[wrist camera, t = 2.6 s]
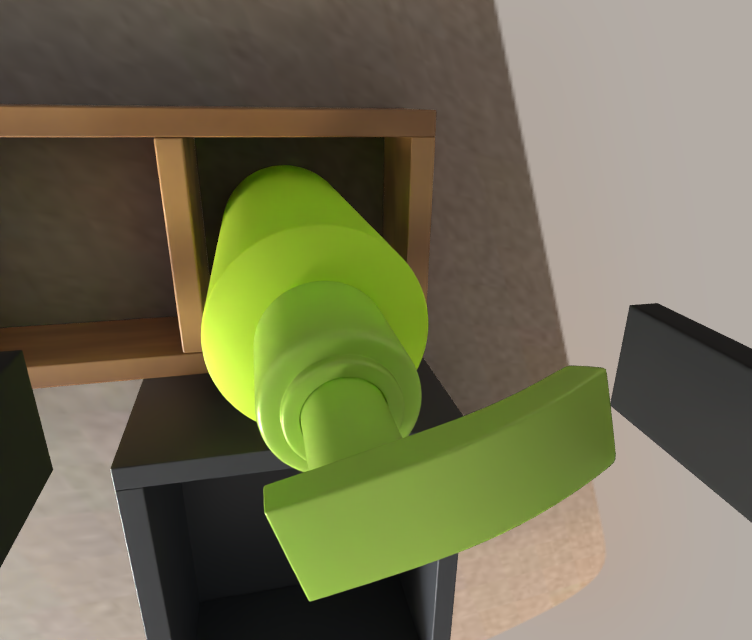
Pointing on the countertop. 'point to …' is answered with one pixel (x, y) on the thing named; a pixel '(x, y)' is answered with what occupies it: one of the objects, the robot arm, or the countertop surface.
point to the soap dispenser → (372, 396)
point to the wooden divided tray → (186, 227)
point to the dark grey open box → (245, 530)
